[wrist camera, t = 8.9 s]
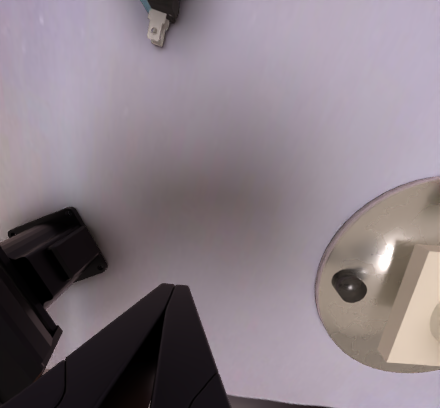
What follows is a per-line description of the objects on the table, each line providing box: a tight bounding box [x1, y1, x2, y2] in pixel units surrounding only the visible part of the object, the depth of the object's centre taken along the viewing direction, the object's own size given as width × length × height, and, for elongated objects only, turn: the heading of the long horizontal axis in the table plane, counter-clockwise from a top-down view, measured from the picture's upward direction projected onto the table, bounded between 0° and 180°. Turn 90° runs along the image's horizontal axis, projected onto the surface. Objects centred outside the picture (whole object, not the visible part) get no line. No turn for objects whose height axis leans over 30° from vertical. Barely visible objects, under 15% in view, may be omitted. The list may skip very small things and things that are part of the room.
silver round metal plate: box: [315, 176, 440, 373], centre depth 21 cm, size 20×20×3 cm
